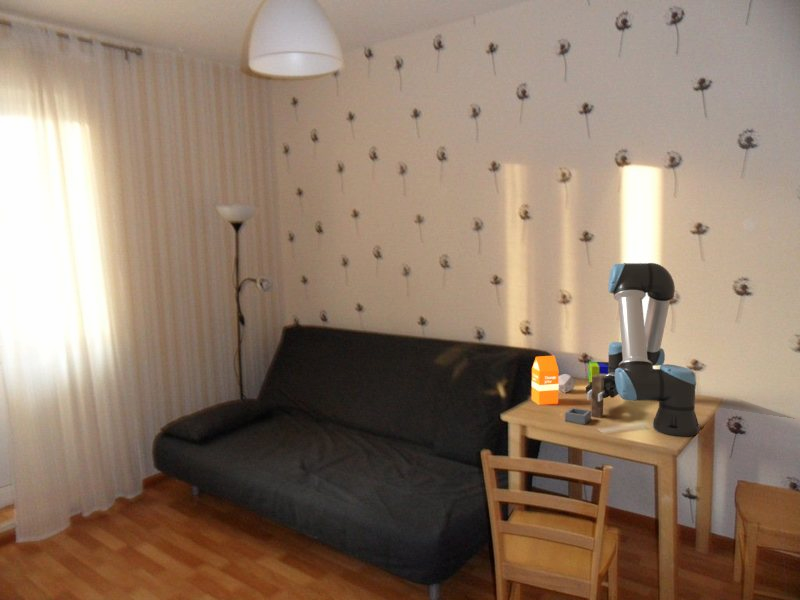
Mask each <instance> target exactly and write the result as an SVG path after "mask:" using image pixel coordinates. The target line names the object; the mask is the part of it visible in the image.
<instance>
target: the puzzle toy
mask: <svg viewBox="0 0 800 600" xmlns="http://www.w3.org/2000/svg"><path fill="white" fill-rule="evenodd" d="M608 365H609V361H589V362H588V370H589V371H588V382H589V384H590V382H592V377H593V376H594V375H599V376H604V377H605V376H606V375H607V374H608Z"/></svg>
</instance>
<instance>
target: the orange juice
mask: <svg viewBox="0 0 800 600" xmlns="http://www.w3.org/2000/svg"><path fill="white" fill-rule="evenodd" d="M559 373H560V372H559V367H558V364H557V359H556V357H555V355H545V356H544V355H543V356H541V355H539V356H535V359H534V361H533V365H532V367H531V401H533V402H534V403H536V404H537V405H538V406H540V405H541V406H542V405H554V404H559V389H558V377H559V376H560V375H559Z"/></svg>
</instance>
